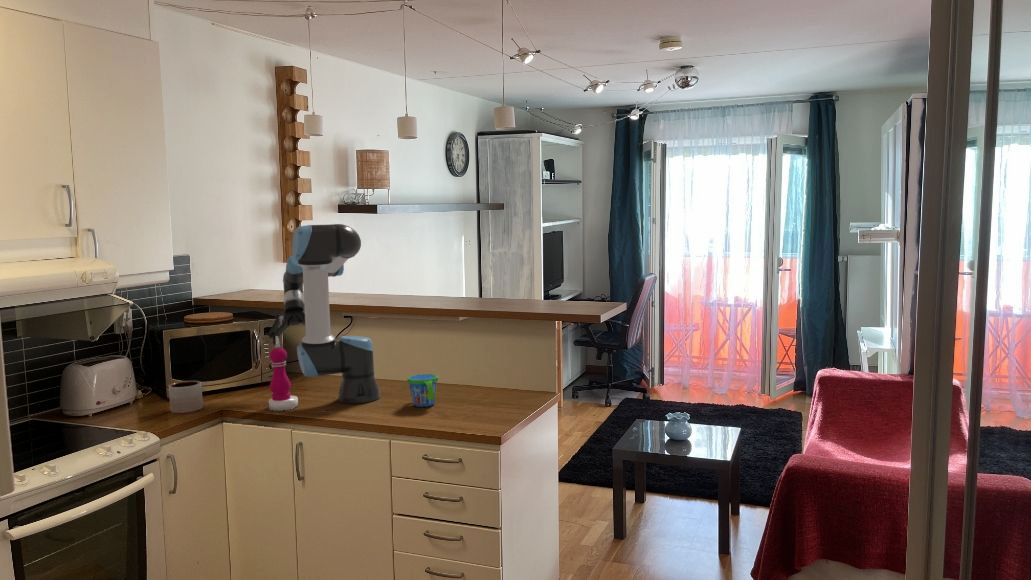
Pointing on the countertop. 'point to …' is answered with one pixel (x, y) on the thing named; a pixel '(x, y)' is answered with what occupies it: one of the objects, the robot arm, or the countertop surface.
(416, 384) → the snack cup
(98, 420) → the countertop surface
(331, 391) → the countertop surface
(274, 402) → the ceramic stand
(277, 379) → the pepper mill
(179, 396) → the planter
